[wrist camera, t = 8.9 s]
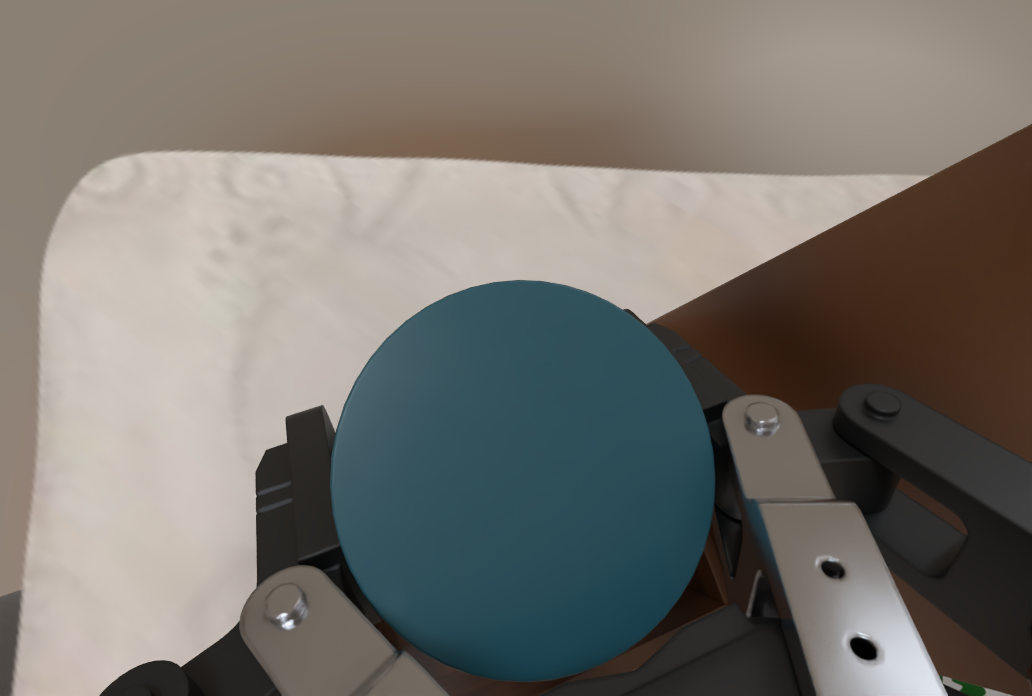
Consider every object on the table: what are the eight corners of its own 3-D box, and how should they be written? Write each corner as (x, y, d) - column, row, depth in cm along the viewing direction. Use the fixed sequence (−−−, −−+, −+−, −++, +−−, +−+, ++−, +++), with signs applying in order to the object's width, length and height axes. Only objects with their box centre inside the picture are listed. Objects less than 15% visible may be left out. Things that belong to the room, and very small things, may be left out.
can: (407, 582, 19) (403, 760, 8) (354, 412, 20) (278, 342, 8) (570, 517, 21) (773, 585, 9) (514, 360, 21) (637, 238, 10)
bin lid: (1535, 843, 9) (1545, 812, 9) (1125, 74, 11) (1144, 71, 11) (746, 621, 25) (759, 613, 25) (632, 330, 27) (646, 326, 27)
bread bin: (389, 712, 29) (381, 794, 22) (310, 454, 31) (279, 451, 24) (674, 581, 33) (747, 615, 26) (590, 357, 34) (635, 330, 27)
